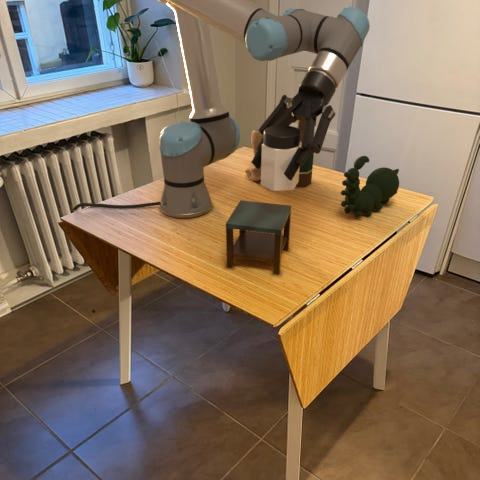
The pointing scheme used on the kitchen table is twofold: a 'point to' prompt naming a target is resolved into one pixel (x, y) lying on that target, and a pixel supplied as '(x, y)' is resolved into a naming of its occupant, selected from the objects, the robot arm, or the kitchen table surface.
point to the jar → (279, 157)
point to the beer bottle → (306, 169)
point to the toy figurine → (368, 189)
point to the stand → (258, 232)
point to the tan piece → (255, 140)
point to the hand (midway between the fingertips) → (271, 171)
